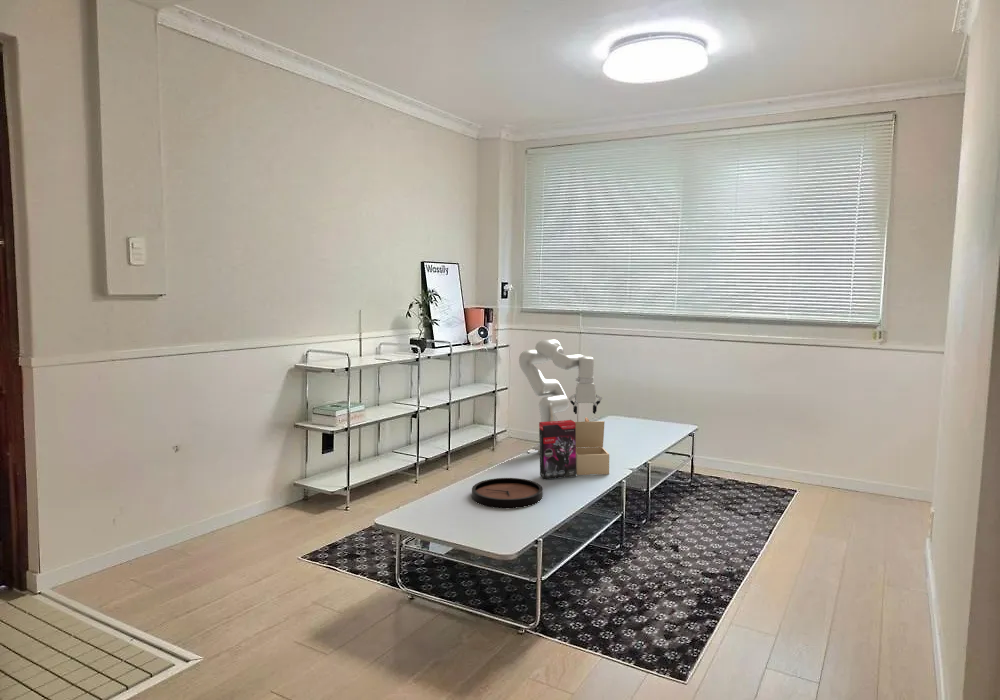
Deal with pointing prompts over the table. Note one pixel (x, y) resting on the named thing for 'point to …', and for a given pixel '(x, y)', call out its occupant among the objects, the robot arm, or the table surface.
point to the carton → (592, 461)
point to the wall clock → (507, 492)
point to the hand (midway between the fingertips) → (584, 413)
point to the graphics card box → (557, 449)
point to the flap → (589, 433)
